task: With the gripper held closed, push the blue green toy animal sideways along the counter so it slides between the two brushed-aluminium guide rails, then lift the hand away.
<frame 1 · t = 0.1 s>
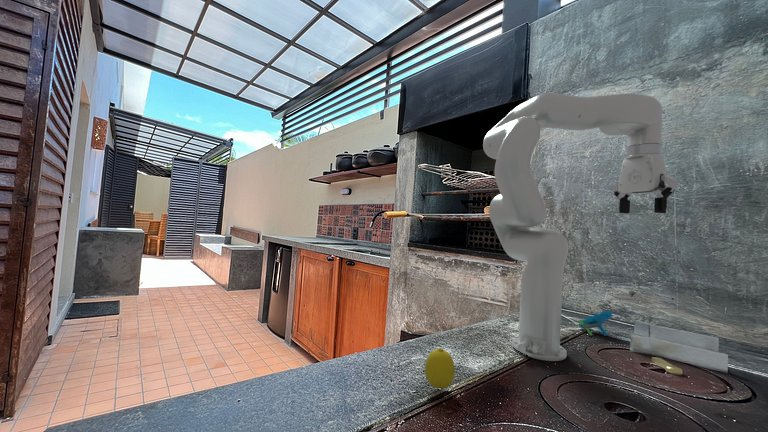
hand: (641, 213, 87), 37 cm above the worktop, tool pointing down, fingers open, 9 cm apart
blue green toy animal: (593, 333, 95), on the worktop
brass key: (663, 366, 73), on the worktop
lemon: (438, 391, 59), on the worktop
channel: (683, 353, 82), on the worktop
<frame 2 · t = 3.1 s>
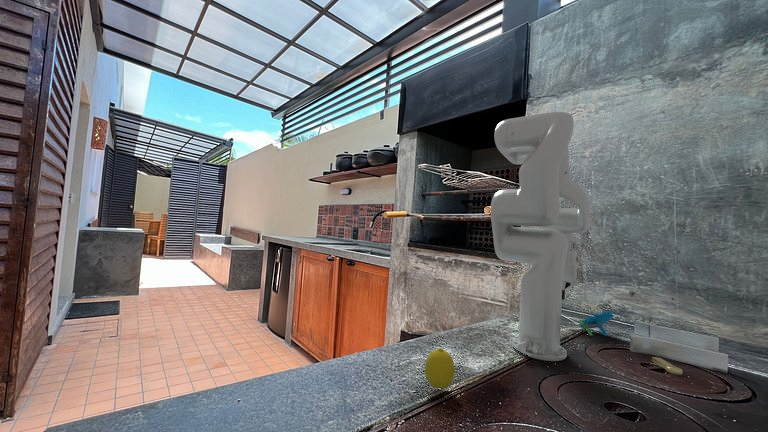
hand: (559, 300, 103), 7 cm above the worktop, tool pointing down, fingers closed
nothing on the worktop moved.
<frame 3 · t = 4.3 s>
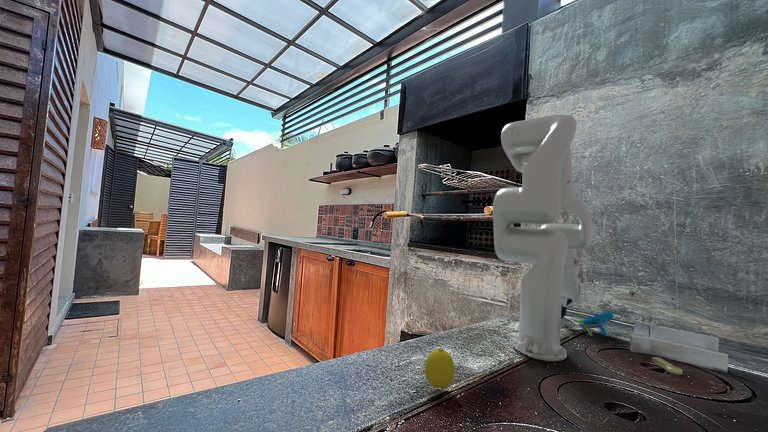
hand: (560, 317, 102), 2 cm above the worktop, tool pointing down, fingers closed
nothing on the worktop moved.
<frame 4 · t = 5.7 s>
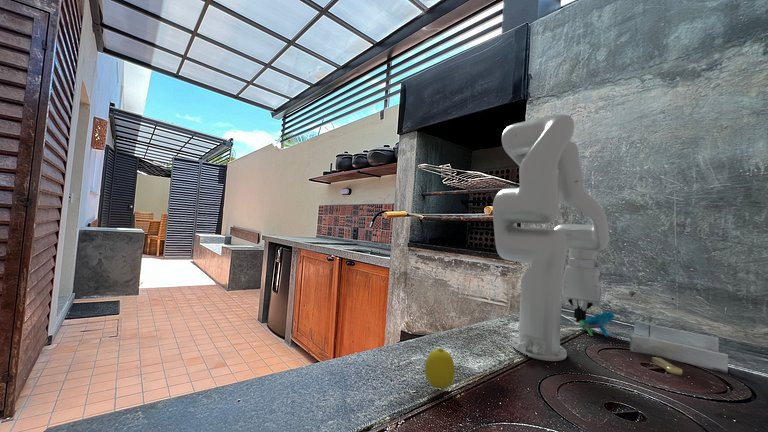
hand: (579, 321, 98), 2 cm above the worktop, tool pointing down, fingers closed
blue green toy animal: (595, 333, 95), on the worktop, touching gripper
everything else where it was.
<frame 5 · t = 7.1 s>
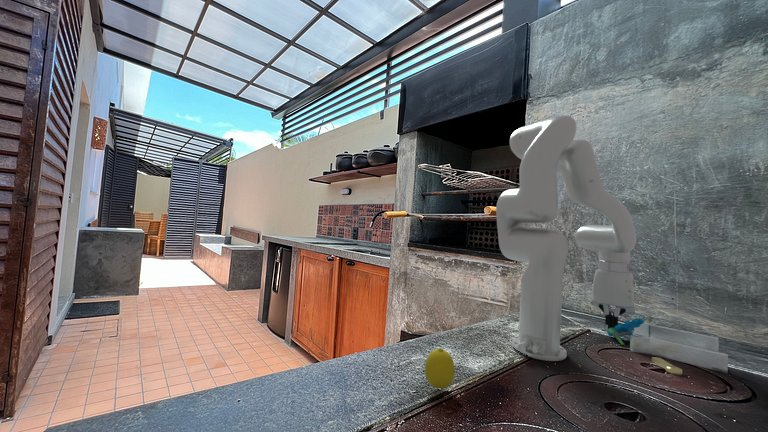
hand: (611, 328, 92), 2 cm above the worktop, tool pointing down, fingers closed
blue green toy animal: (623, 341, 89), on the worktop, touching gripper
everything else where it was.
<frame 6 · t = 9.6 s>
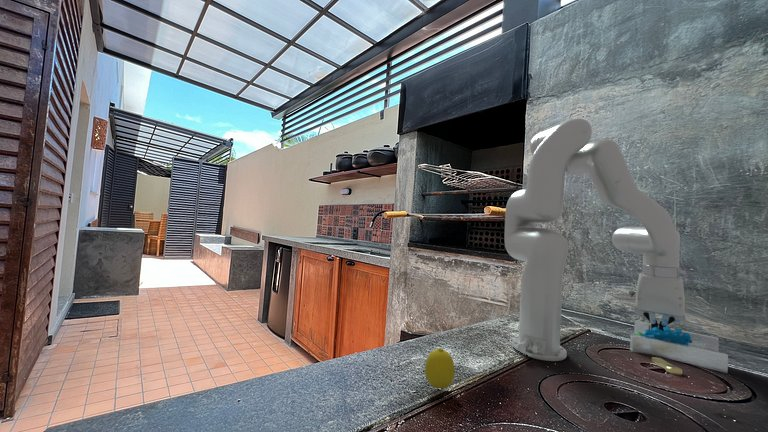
hand: (658, 338, 85), 2 cm above the worktop, tool pointing down, fingers closed
blue green toy animal: (663, 352, 82), on the worktop, touching channel, gripper
everything else where it was.
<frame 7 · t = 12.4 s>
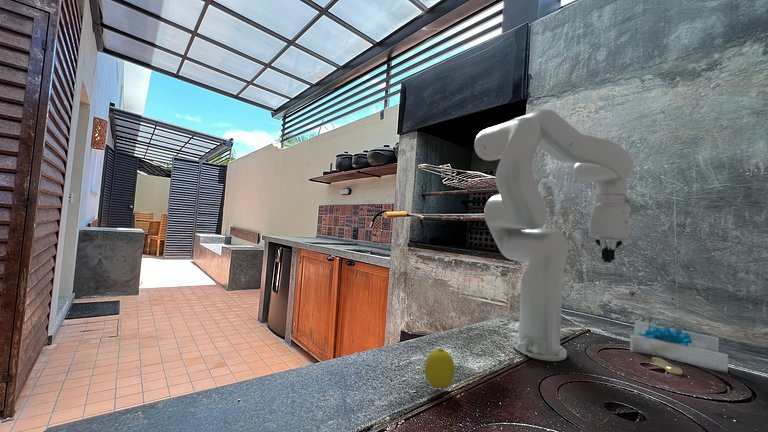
hand: (607, 262, 93), 22 cm above the worktop, tool pointing down, fingers closed
blue green toy animal: (663, 353, 82), on the worktop
everything else where it was.
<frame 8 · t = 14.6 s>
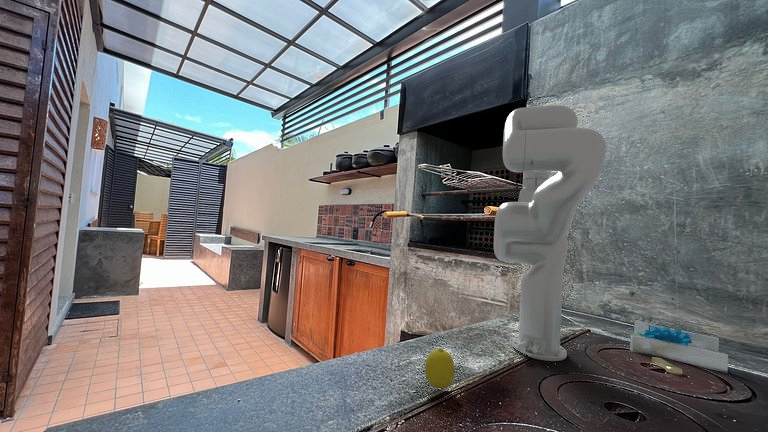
hand: (533, 241, 100), 27 cm above the worktop, tool pointing down, fingers closed
nothing on the worktop moved.
at the end: blue green toy animal inside the target area (7.2 cm from its centre), on the worktop; blue green toy animal moved 16.3 cm from its start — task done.
